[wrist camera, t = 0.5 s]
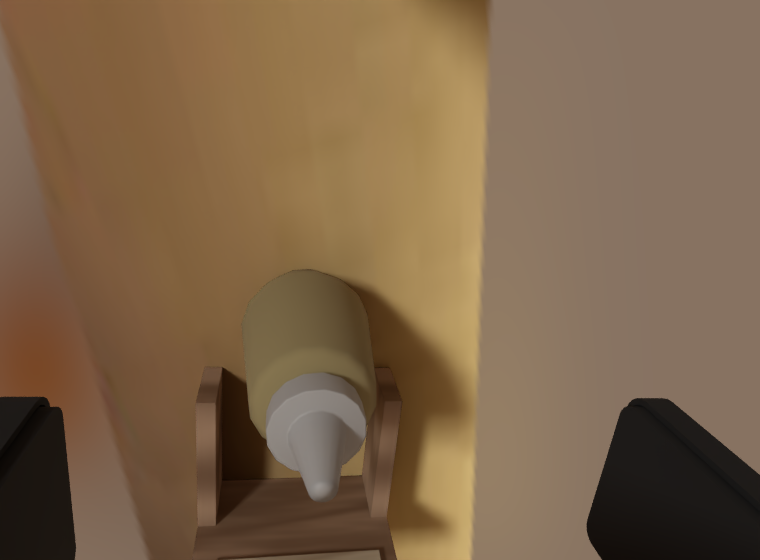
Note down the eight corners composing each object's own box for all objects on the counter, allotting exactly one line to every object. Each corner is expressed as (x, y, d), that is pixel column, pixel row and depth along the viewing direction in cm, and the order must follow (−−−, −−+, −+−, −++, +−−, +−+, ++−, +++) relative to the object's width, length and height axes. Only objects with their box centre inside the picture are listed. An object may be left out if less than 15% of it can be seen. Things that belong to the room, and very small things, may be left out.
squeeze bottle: (371, 342, 40) (436, 535, 23) (262, 370, 39) (251, 590, 23) (347, 240, 37) (403, 379, 20) (229, 268, 36) (187, 437, 19)
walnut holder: (204, 367, 38) (184, 449, 30) (389, 367, 41) (418, 443, 33) (205, 493, 42) (188, 597, 34) (375, 486, 45) (396, 581, 36)
